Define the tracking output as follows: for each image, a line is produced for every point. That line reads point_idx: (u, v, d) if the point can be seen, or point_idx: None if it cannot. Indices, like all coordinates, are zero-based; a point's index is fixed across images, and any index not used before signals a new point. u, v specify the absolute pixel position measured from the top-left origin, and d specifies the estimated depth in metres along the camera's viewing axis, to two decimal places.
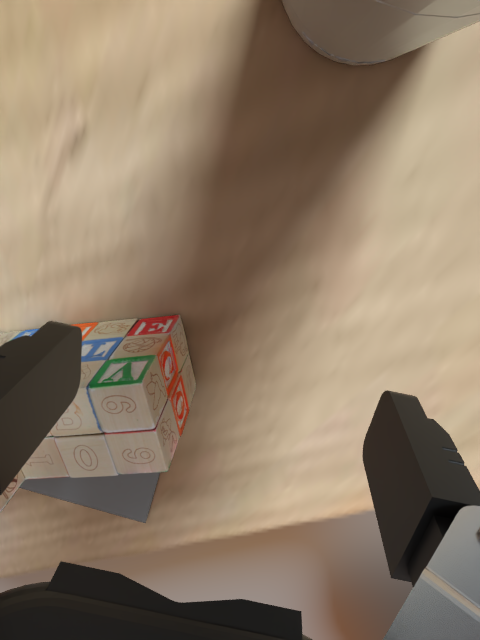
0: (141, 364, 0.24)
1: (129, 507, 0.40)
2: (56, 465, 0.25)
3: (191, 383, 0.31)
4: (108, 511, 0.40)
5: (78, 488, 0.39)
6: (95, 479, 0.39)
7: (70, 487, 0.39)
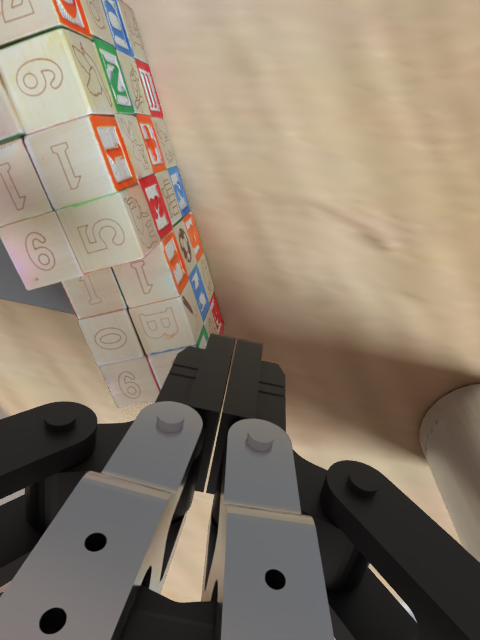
0: None
1: None
2: (89, 307, 0.24)
3: None
4: None
5: None
6: None
7: None
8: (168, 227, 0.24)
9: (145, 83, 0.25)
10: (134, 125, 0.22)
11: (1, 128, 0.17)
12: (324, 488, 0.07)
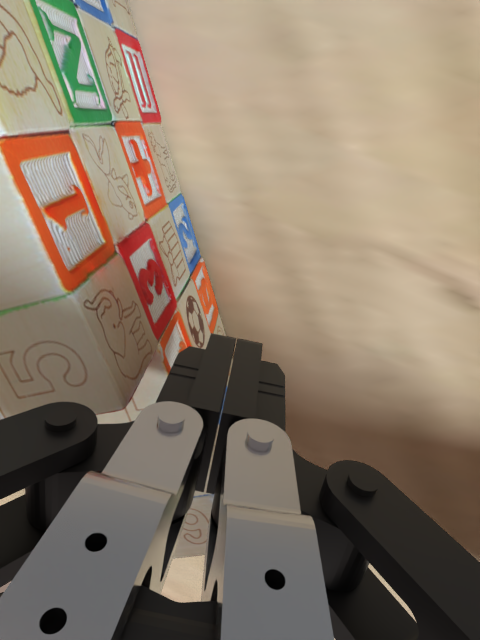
0: None
1: None
2: None
3: None
4: None
5: None
6: None
7: None
8: (169, 309, 0.14)
9: (133, 69, 0.16)
10: (111, 143, 0.12)
11: None
12: (324, 488, 0.07)
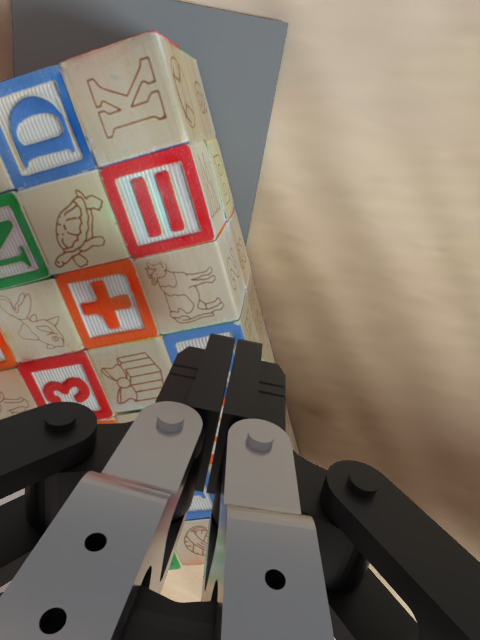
0: None
1: None
2: None
3: None
4: None
5: None
6: None
7: None
8: None
9: (138, 199, 0.14)
10: (38, 295, 0.16)
11: None
12: (324, 488, 0.07)
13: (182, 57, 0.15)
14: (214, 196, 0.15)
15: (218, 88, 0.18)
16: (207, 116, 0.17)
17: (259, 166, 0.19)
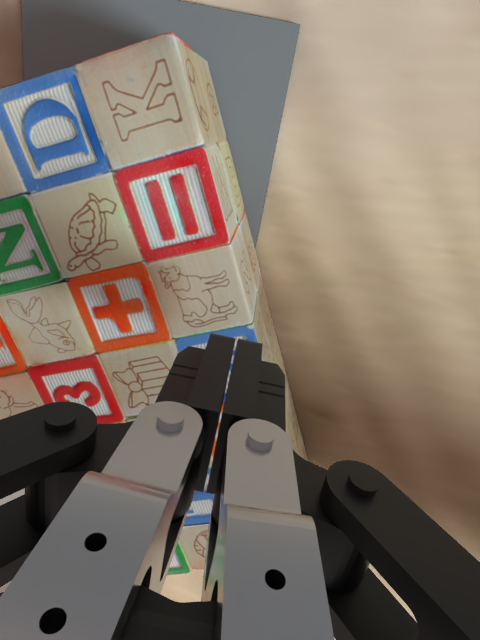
0: (171, 562, 0.21)
1: None
2: None
3: None
4: None
5: None
6: None
7: None
8: (100, 419, 0.18)
9: (152, 202, 0.14)
10: (49, 299, 0.16)
11: None
12: (324, 488, 0.07)
13: (195, 59, 0.15)
14: (227, 199, 0.15)
15: (229, 90, 0.18)
16: (218, 118, 0.17)
17: (270, 168, 0.19)
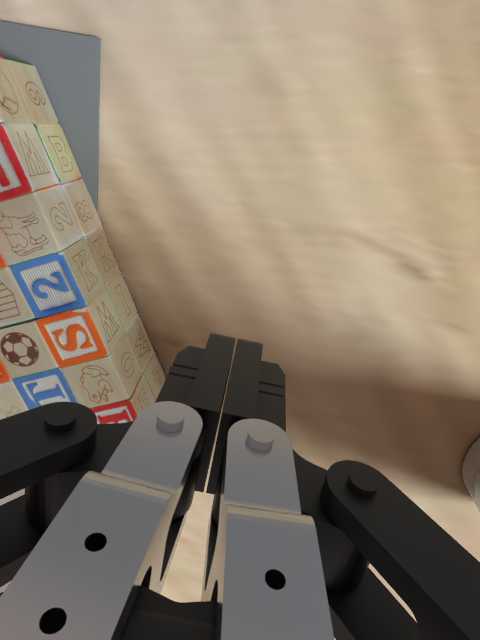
0: None
1: None
2: None
3: None
4: None
5: None
6: None
7: None
8: None
9: None
10: None
11: None
12: (324, 488, 0.07)
13: (8, 64, 0.21)
14: (39, 163, 0.21)
15: (56, 87, 0.24)
16: (44, 107, 0.23)
17: (95, 145, 0.25)
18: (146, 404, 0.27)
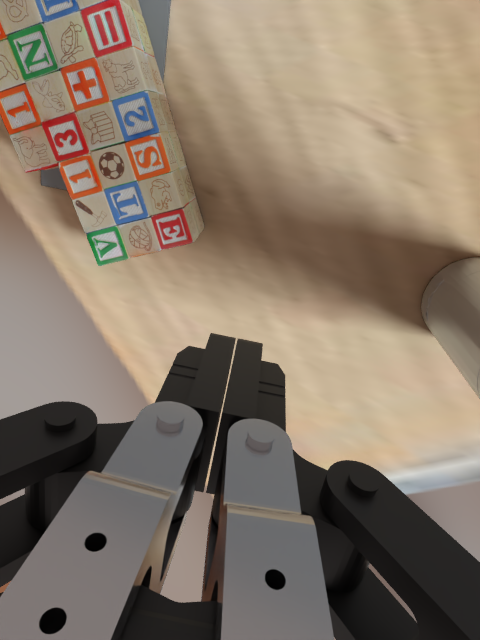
0: (118, 253, 0.38)
1: (55, 168, 0.42)
2: None
3: None
4: None
5: None
6: None
7: None
8: (77, 152, 0.35)
9: (97, 25, 0.31)
10: (52, 80, 0.33)
11: None
12: (324, 488, 0.07)
13: None
14: (135, 32, 0.33)
15: None
16: (135, 1, 0.35)
17: (166, 32, 0.37)
18: (191, 221, 0.38)
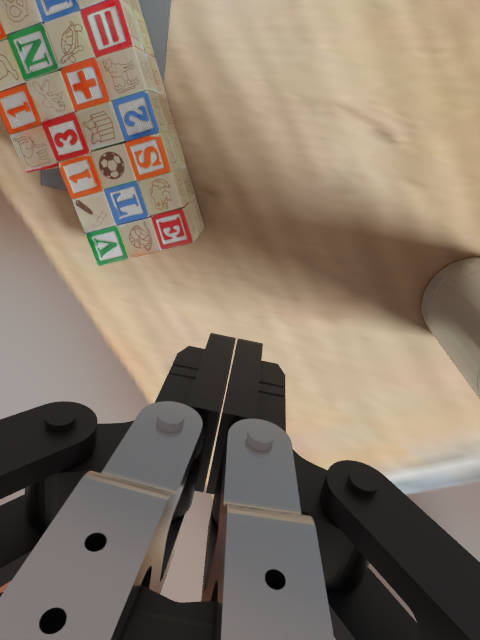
0: (118, 253, 0.38)
1: (55, 168, 0.42)
2: None
3: None
4: None
5: None
6: None
7: None
8: (77, 152, 0.35)
9: (98, 25, 0.31)
10: (52, 80, 0.33)
11: None
12: (324, 488, 0.07)
13: None
14: (135, 32, 0.33)
15: None
16: (135, 1, 0.35)
17: (166, 32, 0.37)
18: (191, 221, 0.38)
